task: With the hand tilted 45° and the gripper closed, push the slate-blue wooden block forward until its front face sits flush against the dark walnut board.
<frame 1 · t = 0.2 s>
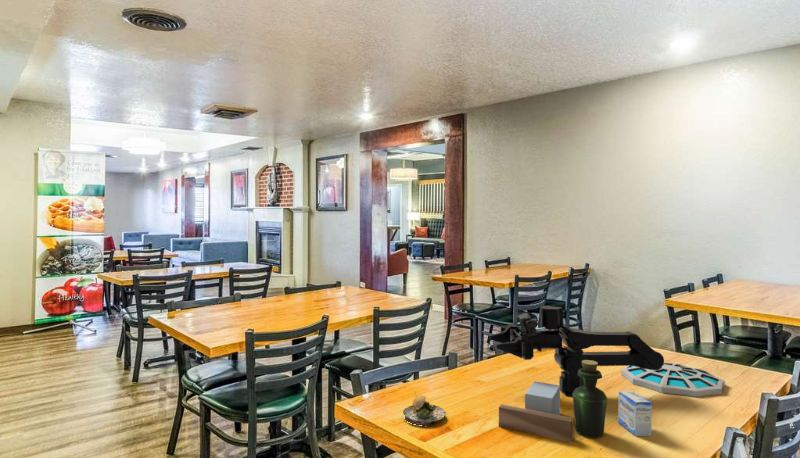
hand: (492, 341, 144), 16 cm above the table, tool horizontal, fingers open, 9 cm apart
potion bottle: (589, 433, 116), on the table
medicine box: (634, 430, 118), on the table
walnut board: (534, 431, 117), on the table
grey dish with food: (424, 419, 126), on the table
decorative platform: (670, 382, 156), on the table
slate block: (542, 418, 125), on the table
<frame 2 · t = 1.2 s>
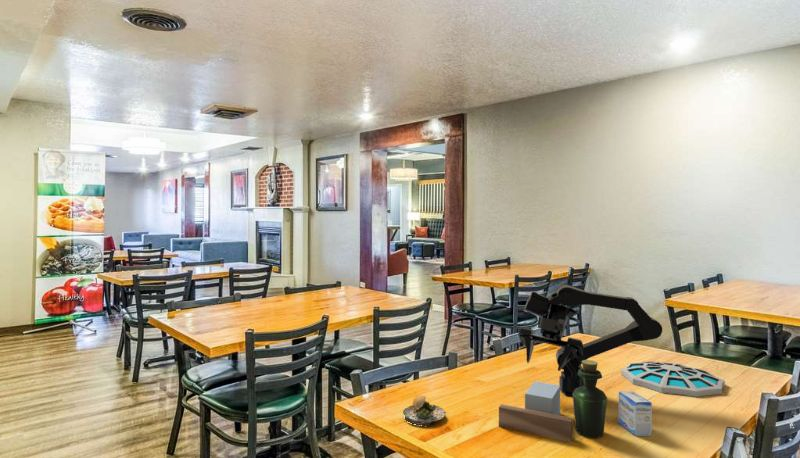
hand: (542, 366, 135), 11 cm above the table, tool tilted 45°, fingers open, 9 cm apart
nothing on the table moved.
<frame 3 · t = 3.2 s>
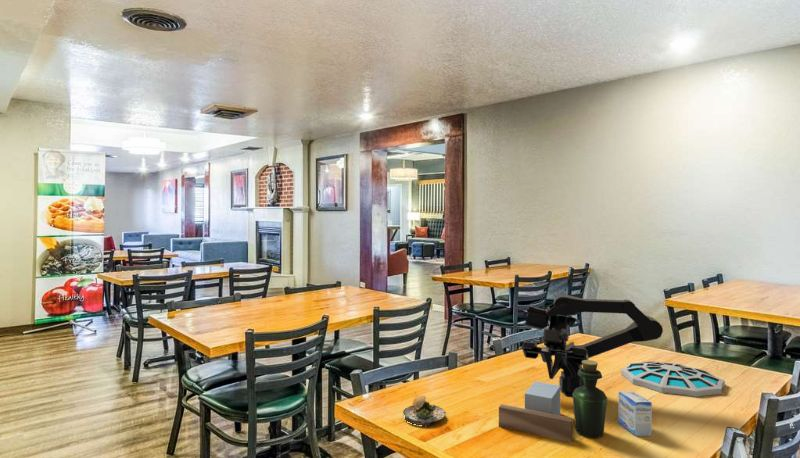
hand: (550, 378, 134), 8 cm above the table, tool tilted 45°, fingers closed
nothing on the table moved.
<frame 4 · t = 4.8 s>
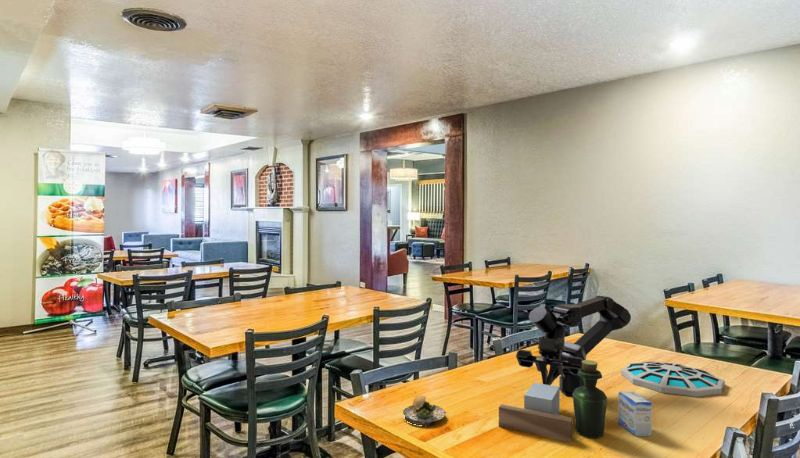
hand: (545, 388, 129), 7 cm above the table, tool tilted 45°, fingers closed, pressing on slate block
slate block: (542, 420, 124), on the table, touching gripper
everything else where it was.
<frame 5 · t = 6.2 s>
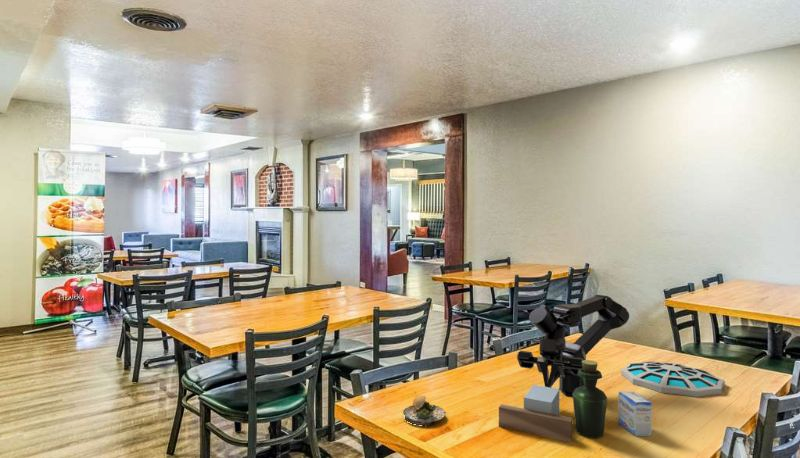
hand: (547, 390, 129), 6 cm above the table, tool tilted 45°, fingers closed
slate block: (541, 422, 122), on the table
everything else where it was.
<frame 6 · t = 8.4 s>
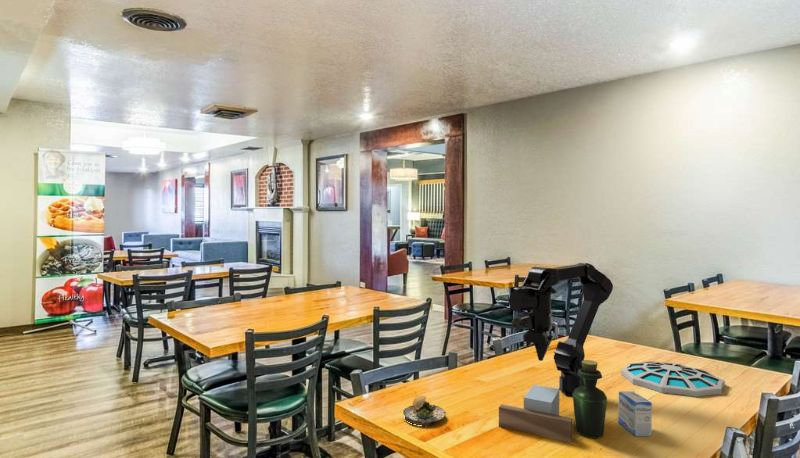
hand: (540, 360, 138), 12 cm above the table, tool pointing down, fingers closed
nothing on the table moved.
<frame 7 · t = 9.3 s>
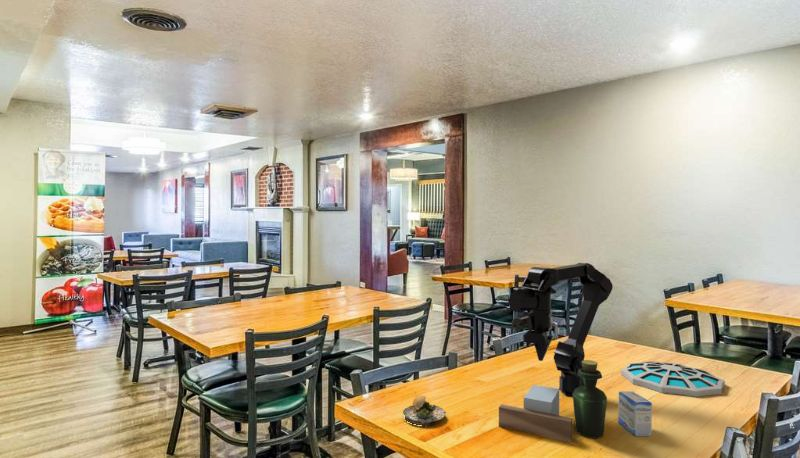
hand: (540, 360, 138), 12 cm above the table, tool pointing down, fingers closed
nothing on the table moved.
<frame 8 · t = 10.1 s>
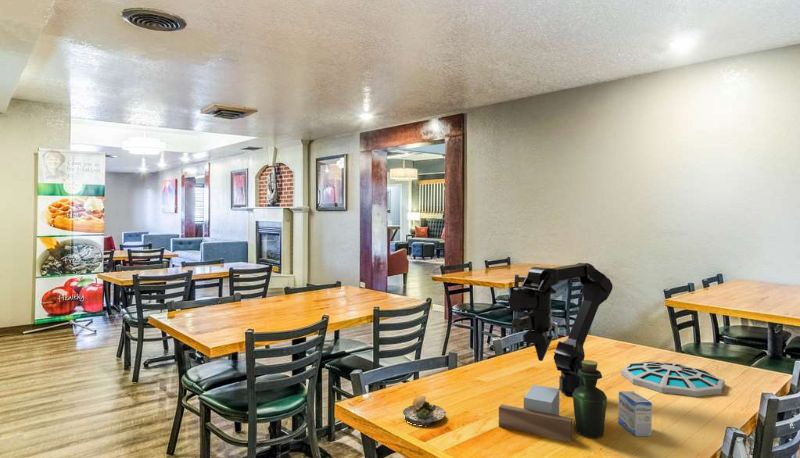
hand: (540, 360, 138), 12 cm above the table, tool pointing down, fingers closed
nothing on the table moved.
at the end: slate block 6.8 cm from the walnut board (horizontally); slate block 0.2 cm from the target spot on the table beside the walnut board, on the table; slate block tilted 0° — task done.
